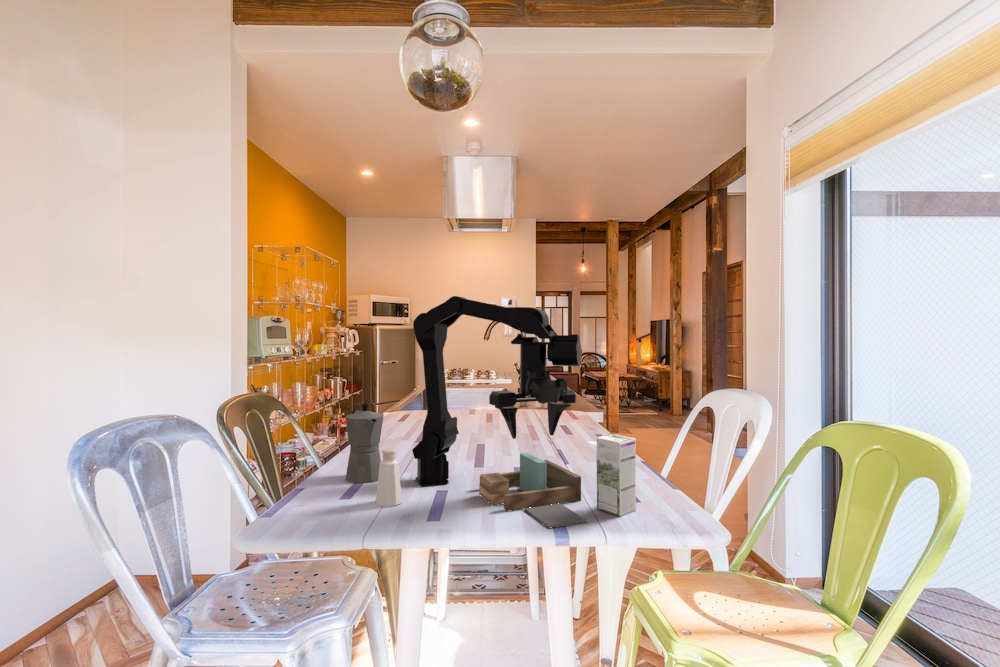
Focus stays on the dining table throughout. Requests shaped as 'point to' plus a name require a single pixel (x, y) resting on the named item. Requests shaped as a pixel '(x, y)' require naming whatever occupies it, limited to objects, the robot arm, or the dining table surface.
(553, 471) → the rack
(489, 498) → the offcut lower
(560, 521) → the mat
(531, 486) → the teal rectangular block
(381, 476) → the pepper shaker
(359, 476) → the coffeepot
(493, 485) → the offcut upper
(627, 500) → the syrup box
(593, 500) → the dining table surface
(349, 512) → the dining table surface
